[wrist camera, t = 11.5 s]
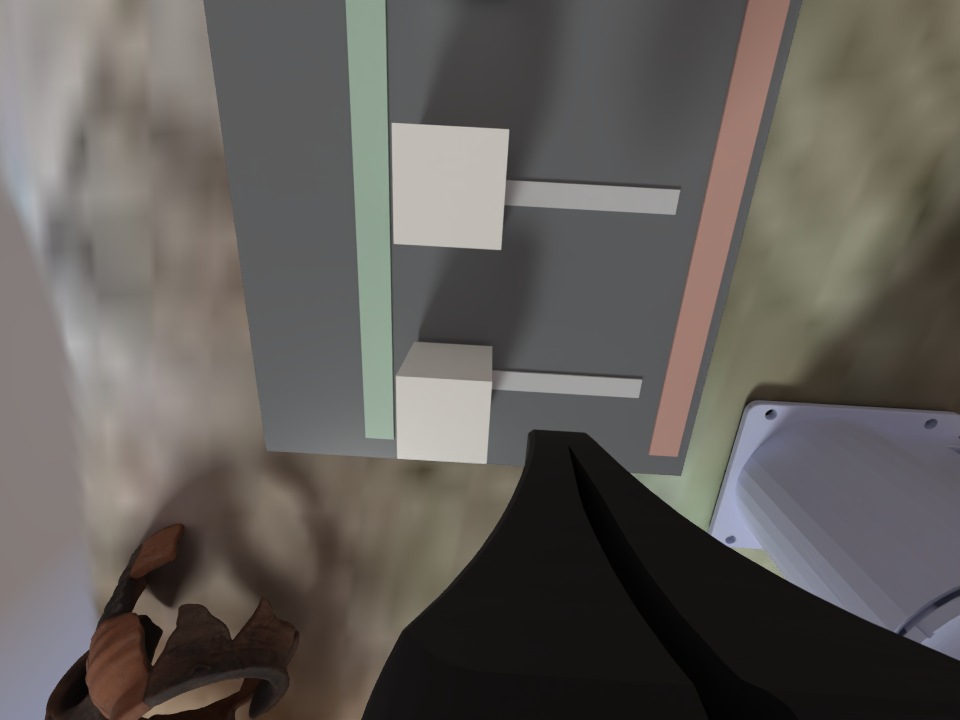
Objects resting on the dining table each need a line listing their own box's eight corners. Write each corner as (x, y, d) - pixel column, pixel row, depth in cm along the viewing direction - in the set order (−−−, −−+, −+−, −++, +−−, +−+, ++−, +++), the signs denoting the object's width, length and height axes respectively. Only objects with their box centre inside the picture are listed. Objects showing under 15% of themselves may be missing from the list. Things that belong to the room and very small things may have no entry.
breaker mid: (505, 143, 14) (509, 129, 11) (499, 238, 15) (501, 249, 12) (414, 138, 14) (391, 122, 11) (414, 233, 15) (393, 243, 12)
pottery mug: (213, 480, 23) (206, 644, 17) (323, 541, 30) (346, 674, 24) (8, 611, 22) (-72, 826, 17) (167, 642, 29) (150, 805, 23)
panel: (812, -187, 13) (869, -255, 11) (664, 450, 21) (681, 477, 19) (210, -217, 13) (160, -289, 11) (286, 427, 21) (264, 451, 19)
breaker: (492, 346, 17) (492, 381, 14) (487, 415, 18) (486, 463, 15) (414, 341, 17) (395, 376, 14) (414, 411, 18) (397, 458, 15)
